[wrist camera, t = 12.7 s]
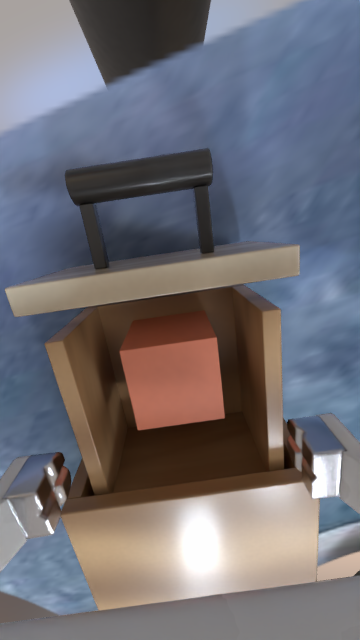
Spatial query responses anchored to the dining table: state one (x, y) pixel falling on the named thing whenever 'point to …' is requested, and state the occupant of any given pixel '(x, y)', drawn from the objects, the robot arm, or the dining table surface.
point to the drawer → (155, 301)
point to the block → (173, 370)
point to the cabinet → (194, 536)
